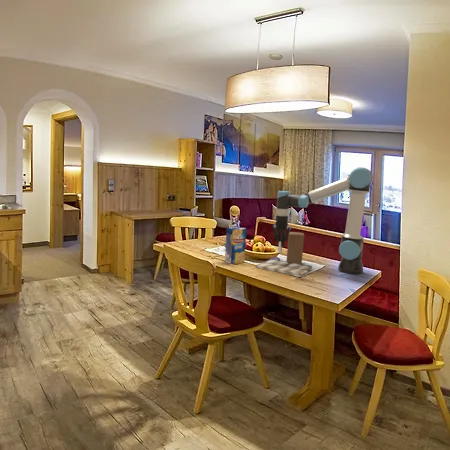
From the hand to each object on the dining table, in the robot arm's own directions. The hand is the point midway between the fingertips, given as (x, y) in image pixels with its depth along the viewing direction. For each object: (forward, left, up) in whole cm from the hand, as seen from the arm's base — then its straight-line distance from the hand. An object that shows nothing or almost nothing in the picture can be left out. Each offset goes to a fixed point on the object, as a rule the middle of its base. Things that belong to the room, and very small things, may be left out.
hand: (280, 251), depth 258 cm
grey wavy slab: (-14, +2, -8) cm, 17 cm away
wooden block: (-5, -13, -9) cm, 17 cm away
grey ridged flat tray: (-7, +13, -9) cm, 17 cm away
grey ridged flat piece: (+1, +2, -8) cm, 9 cm away
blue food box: (+25, +14, -9) cm, 30 cm away
